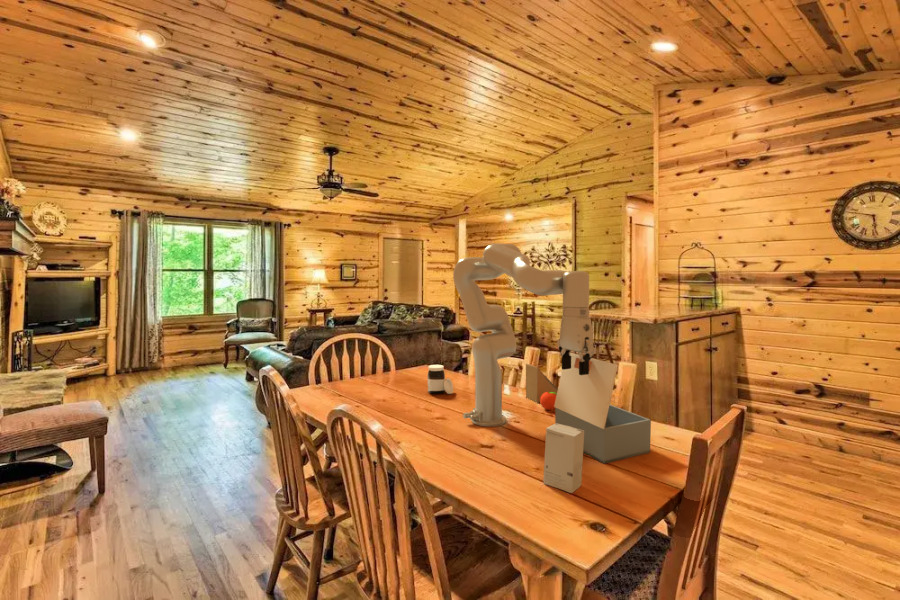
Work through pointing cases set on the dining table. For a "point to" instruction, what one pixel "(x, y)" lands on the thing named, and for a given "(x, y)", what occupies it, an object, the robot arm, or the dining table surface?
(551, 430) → the skincare box
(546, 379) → the sandwich container
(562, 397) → the lid flap
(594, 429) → the carton
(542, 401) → the tomato
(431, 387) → the spread jar
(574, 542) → the dining table surface
